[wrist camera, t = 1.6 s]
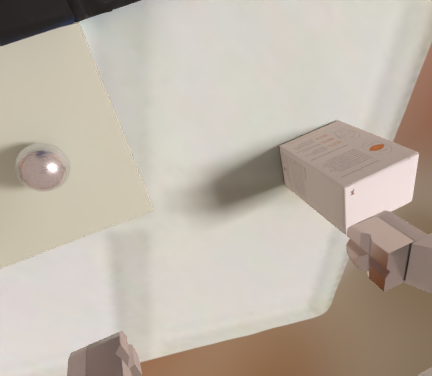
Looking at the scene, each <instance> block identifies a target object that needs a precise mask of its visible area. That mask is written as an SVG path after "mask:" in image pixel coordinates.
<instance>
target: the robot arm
mask: <svg viewBox="0 0 432 376" xmlns="http://www.w3.org/2000/svg"><path fill="white" fill-rule="evenodd" d="M347 236H348V237H349V238H350V240H349V241H348V243H347V245H346V248H347V254H348V256H349V259H350V260H351V261H352V262H353V264H354V265H355V266H356V267H357V268H358V269H360V270H364V271H367V272H368V277H369V279H370V280H371V281H373V282H374V283H375V284H376V285H377V286H378V287H379V288H380V289H381V290H383V291H386V290H388V289H390V288H393V287H395V286H397V285H399V284H401V283H403V282H405V283H406V284H408V285H411V286H414V287H416V288H419V289H421V290H424V291H426V292H429V293H432V234H430V235H427V234H425V233H424V232H422V231H420V230H419V229H417V228H416V227H414V226H412V225H411V224H409V223H407V222H406V221H404V220H403V219H401V218H399V217H398V216H396V215H395V214H393V213H391V212H389V211H382V212H380V213H378V214H376V215H374V216H372V217H369V218H367V219H364V220H362V221H360V222H358V223H356V224H354V225H352V226H350V227H348V229H347ZM67 376H142V371H141V365H140V362H139V358H138V355H137V353H136V351H135V349H134V347H133V346H132V345H130V344H128V342H127V337H126V335H125V334H124V332H123V331H121V332H118V333H116V334H114V335H111V336H109V337H107V338H104V339H102V340H99V341H97V342H95V343H92V344H90V345H88V346H86V347H83V348H81V349H79V350H77V351H74V352H72V353H71V354H70V357H69V359H68V370H67ZM417 376H432V367H431V368H429V369H427V370H426V371H424V372H423V373H421V374H419V375H417Z"/></svg>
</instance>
